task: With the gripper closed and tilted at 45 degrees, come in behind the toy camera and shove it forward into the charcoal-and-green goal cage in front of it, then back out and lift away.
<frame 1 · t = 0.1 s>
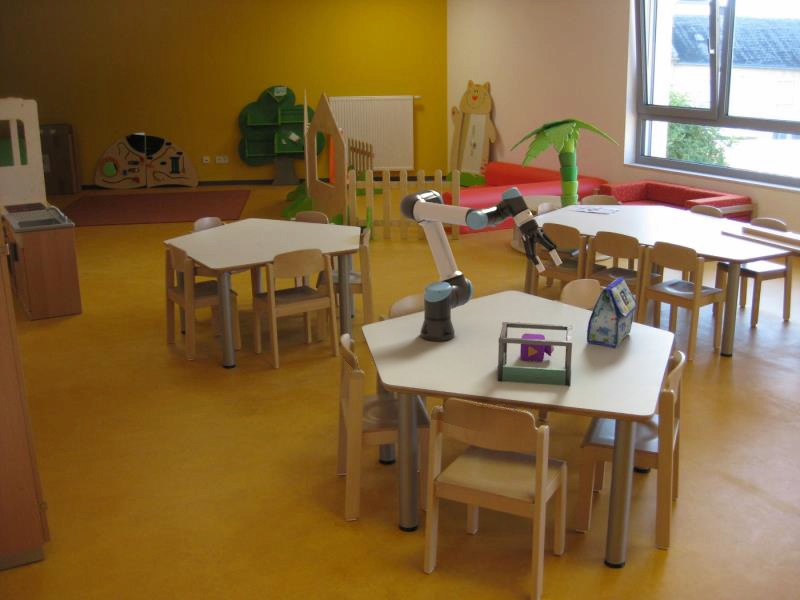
hand: (551, 268, 349), 36 cm above the table, fingers open, 13 cm apart
lunch bag: (610, 339, 372), on the table
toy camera: (536, 358, 351), on the table
goal cage: (534, 373, 334), on the table
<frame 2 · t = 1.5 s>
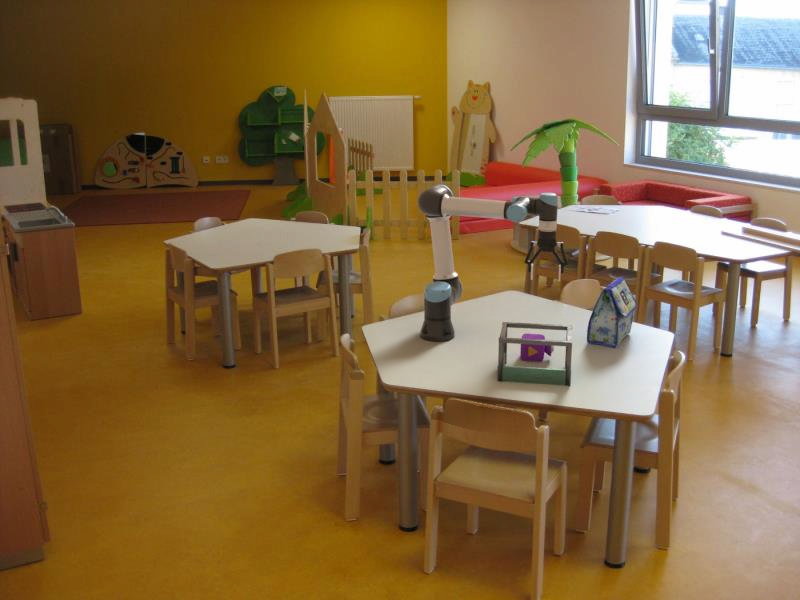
hand: (545, 279, 368), 26 cm above the table, fingers open, 11 cm apart
nothing on the table moved.
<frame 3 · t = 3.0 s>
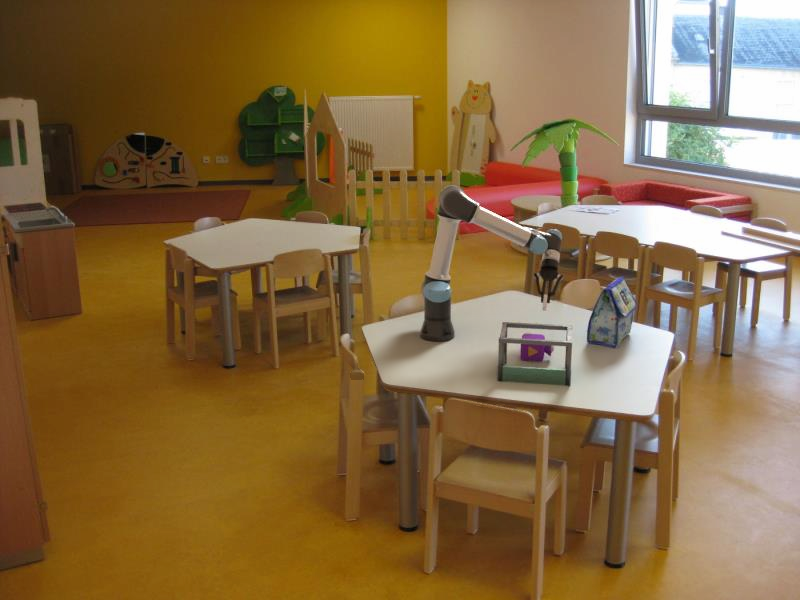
hand: (544, 309, 367), 14 cm above the table, fingers closed
nothing on the table moved.
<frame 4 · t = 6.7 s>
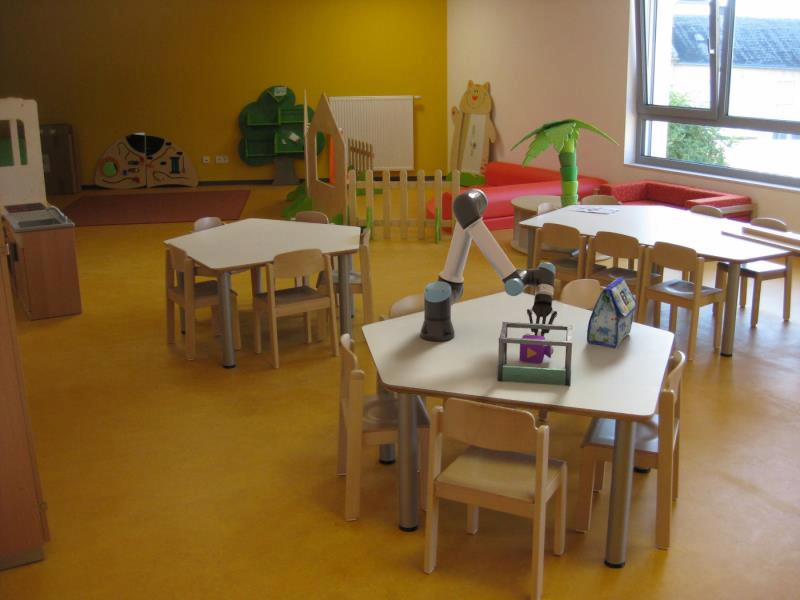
hand: (537, 347, 351), 4 cm above the table, fingers closed
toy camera: (536, 360, 349), on the table, touching gripper
everything else where it was.
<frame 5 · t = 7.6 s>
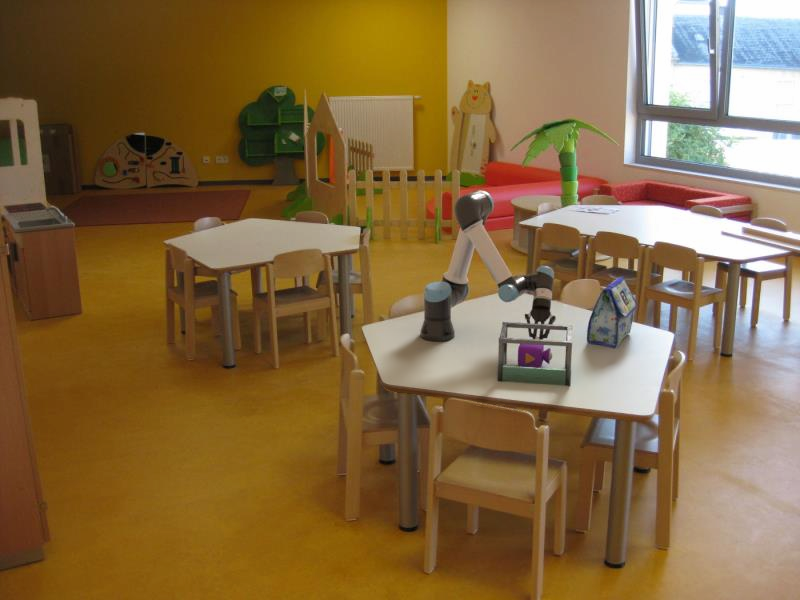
hand: (535, 352, 345), 4 cm above the table, fingers closed
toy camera: (534, 366, 342), on the table, touching gripper
everything else where it was.
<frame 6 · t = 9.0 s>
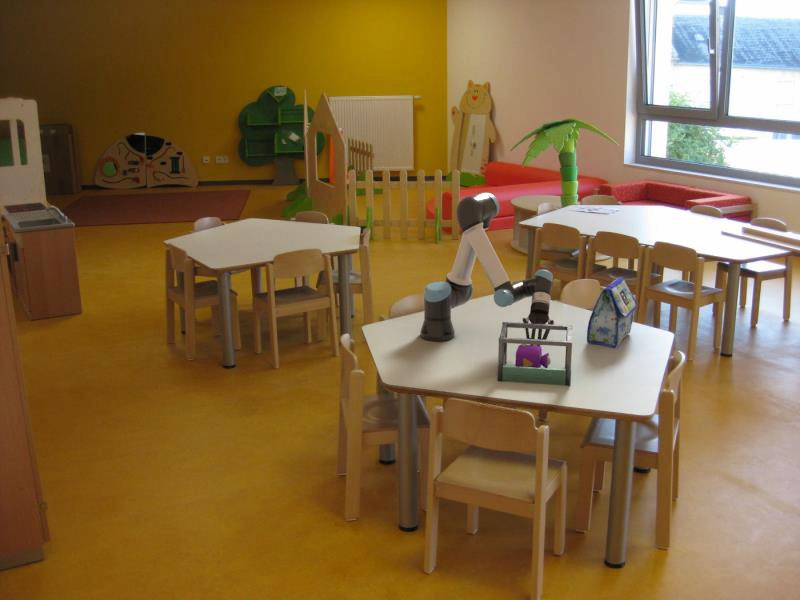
hand: (533, 357, 340), 4 cm above the table, fingers closed
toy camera: (532, 371, 337), on the table, touching gripper
everything else where it was.
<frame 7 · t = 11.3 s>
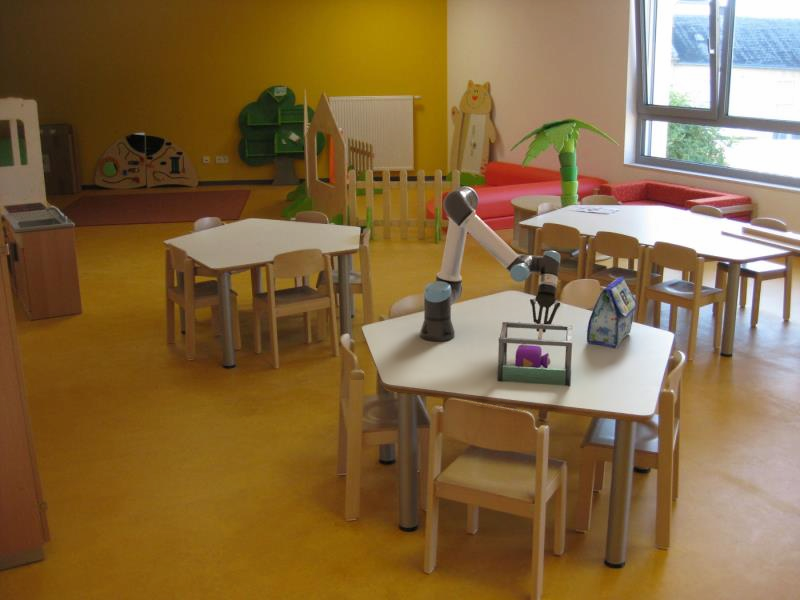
hand: (539, 339, 356), 6 cm above the table, fingers closed
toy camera: (532, 371, 337), on the table
everything else where it was.
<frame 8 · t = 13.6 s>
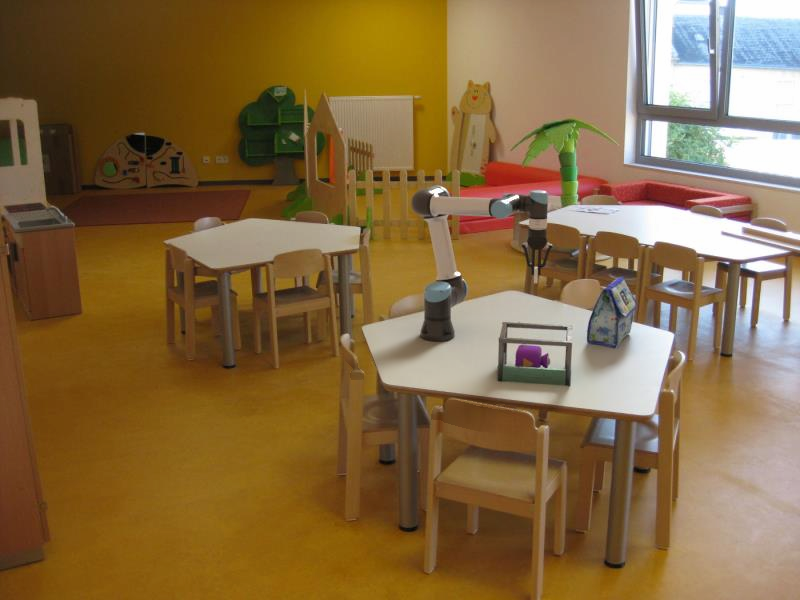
hand: (535, 282, 363), 26 cm above the table, fingers closed
nothing on the table moved.
at the end: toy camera inside the target area on the goal cage (5.3 cm from its centre), point 0.0 cm above the goal cage's base; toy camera tilted 0°; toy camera moved 14.3 cm from its start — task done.
